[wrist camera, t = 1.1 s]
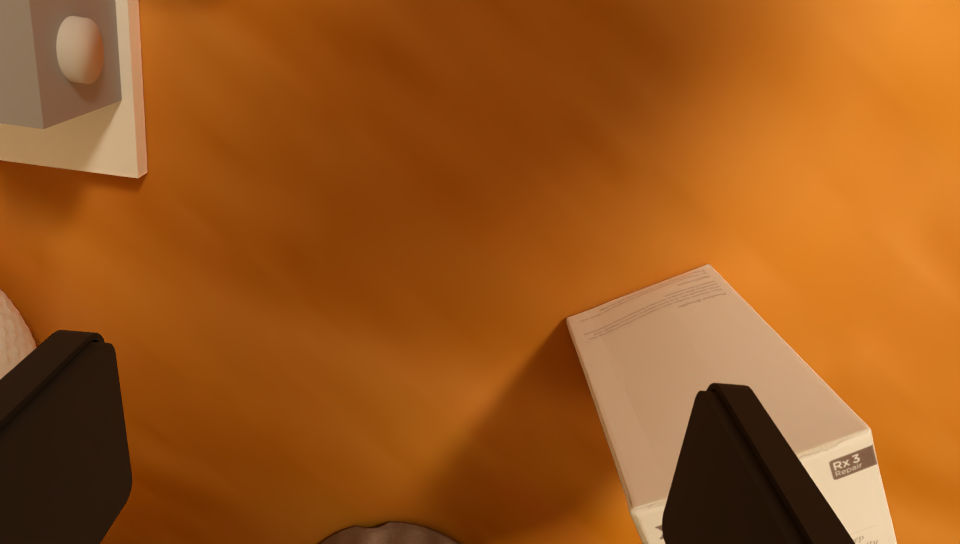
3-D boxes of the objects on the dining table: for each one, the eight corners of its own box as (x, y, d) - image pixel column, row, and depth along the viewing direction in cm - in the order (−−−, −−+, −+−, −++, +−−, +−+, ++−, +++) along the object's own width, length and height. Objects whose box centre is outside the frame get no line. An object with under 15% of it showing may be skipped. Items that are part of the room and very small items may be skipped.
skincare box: (597, 398, 38) (670, 638, 24) (561, 309, 35) (619, 519, 22) (744, 347, 37) (908, 569, 23) (717, 252, 34) (881, 435, 21)
